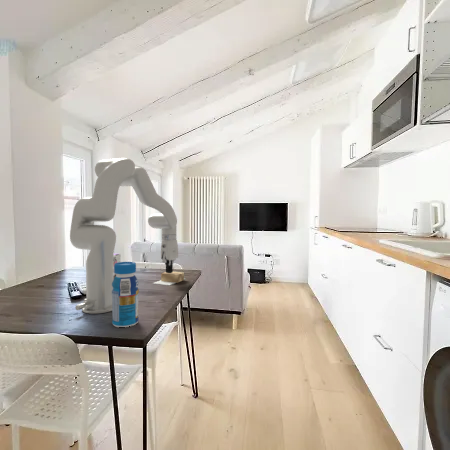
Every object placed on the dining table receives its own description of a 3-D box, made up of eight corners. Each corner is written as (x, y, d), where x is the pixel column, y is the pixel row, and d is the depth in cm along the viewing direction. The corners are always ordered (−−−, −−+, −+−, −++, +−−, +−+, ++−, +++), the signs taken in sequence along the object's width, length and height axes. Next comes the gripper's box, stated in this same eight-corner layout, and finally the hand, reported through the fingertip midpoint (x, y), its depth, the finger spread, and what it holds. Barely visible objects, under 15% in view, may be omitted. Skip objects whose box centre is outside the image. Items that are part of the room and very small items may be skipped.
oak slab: (177, 275, 151) (184, 272, 157) (161, 273, 155) (168, 270, 161) (177, 282, 151) (184, 279, 158) (161, 280, 155) (168, 278, 162)
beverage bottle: (106, 326, 94) (105, 264, 93) (123, 317, 102) (123, 260, 101) (127, 330, 91) (127, 266, 90) (144, 320, 99) (143, 262, 98)
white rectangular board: (169, 285, 146) (169, 285, 146) (152, 283, 150) (152, 283, 150) (185, 279, 161) (185, 278, 161) (170, 277, 165) (170, 276, 165)
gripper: (167, 239, 144) (167, 276, 145) (182, 236, 158) (182, 270, 159) (154, 238, 147) (154, 274, 148) (170, 236, 161) (171, 269, 161)
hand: (169, 272), depth 153 cm, fingers closed
